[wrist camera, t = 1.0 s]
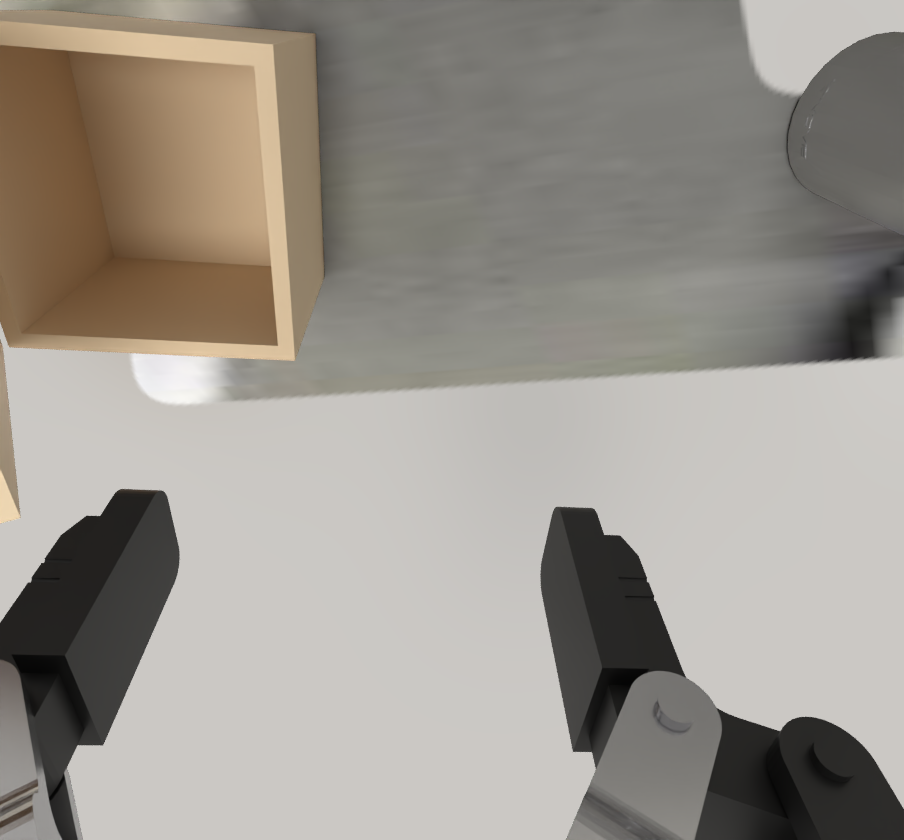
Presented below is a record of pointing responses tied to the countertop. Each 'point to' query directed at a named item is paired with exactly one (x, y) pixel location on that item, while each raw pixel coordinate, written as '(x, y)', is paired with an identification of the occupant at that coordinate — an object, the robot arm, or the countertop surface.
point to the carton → (158, 186)
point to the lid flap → (6, 455)
